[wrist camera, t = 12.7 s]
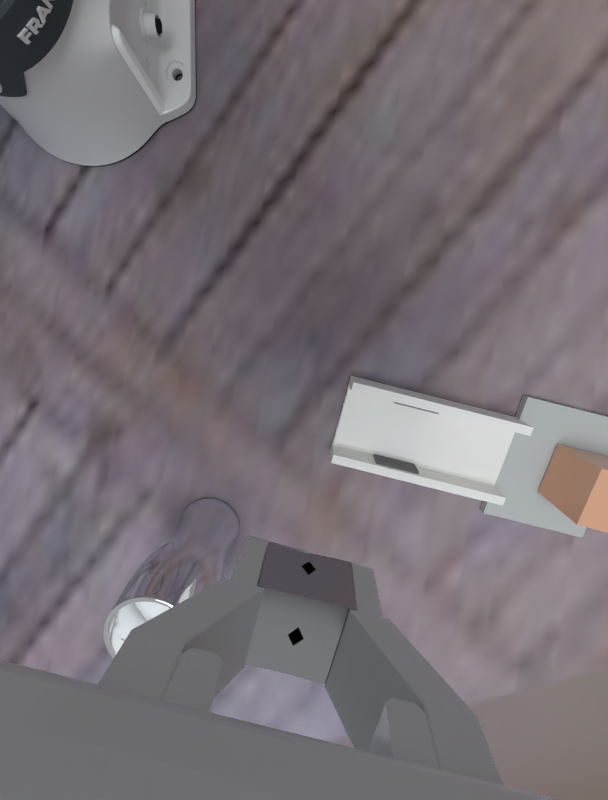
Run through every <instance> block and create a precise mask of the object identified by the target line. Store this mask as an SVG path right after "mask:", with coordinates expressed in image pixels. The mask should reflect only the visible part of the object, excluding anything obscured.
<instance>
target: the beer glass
mask: <svg viewBox="0 0 608 800" xmlns="http://www.w3.org/2000/svg"><path fill="white" fill-rule="evenodd" d="M238 533H239V520H238V517H237V515H236V513H235V512H234V510H233V509H232V508H231V507H230V506H229V505H228V504H226V503H224V502H223V501H220V500H217V499H213V498H204V499H200V500H197V501H195V502H193V503H192V504H190V505H189V506H188V507H187V509H186V510H185V512H184V513H183V516H182V518H181V521H180V525H179V527H178V529H177V530H176V531H175V532H174V533H173V534H172V535H171V536H170V537H169V538H168V539H167V540H165V541H164V542H163V543H162V544H161V545H160V546H159V547H157V548H156V549H155V550H154V551H153V552H152V553H151V554H150V555H149V556H148V557H147V558H146V559H145V560H144V562H143V563H142V564H141V565H140V567H139V568H138V569H137V570H136V572H135V573H134V575H133V576H132V578H131V579H130V581H129V582H128V584H127V585H126V587H125V588H124V590H123V592H122V593H121V595H120V597H119V599H118V600H117V602H116V604H115V606H114V607H113V609H112V611H111V612H110V613H109V615H108V616H107V618H106V620H105V623H104V628H103V637H104V642H105V645H106V648H107V650H108V652H109V654H110V655H111V657H112V658H113V659H114V657H115V656H116V654H117V652H118V651H119V649H120V648H121V646H122V644H123V643H124V641H125V639H126V638H127V636H128V635H129V633H130V631H131V630H132V629H134V628H136V627H138V626H139V625H141V624H143V623H145V622H147V621H148V620H150V619H152V618H154V617H156V616H157V615H159V614H161V613H163V612H165V611H166V610H168V609H170V608H172V607H173V606H175V605H177V604H179V603H181V602H182V601H184V600H186V599H188V598H190V597H191V596H193V595H195V594H197V593H199V592H200V591H202V590H204V589H206V588H208V587H209V586H211V585H213V584H215V583H217V582H218V581H220V580H222V579H223V571H224V562H225V556H226V553H227V551H228V549H229V548H230V547H231V546H232V544H233V543H234V542H235V540H236V538H237V536H238Z"/></svg>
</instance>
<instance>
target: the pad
mask: <svg viewBox="0 0 608 800" xmlns="http://www.w3.org/2000/svg"><path fill="white" fill-rule="evenodd" d="M515 417H516V418H518V419H519V420H521V421H523V422H525V423H527V424H528V425H530V426H532V427H534V429H533V431H532V434H531V436H528V435H524V434H520V433H516V432H515V434H514V436H513V439H512V442H511V444H510V447H509V449H508V452H507V455H506V457H505V460H504V462H503V465H502V468H501V470H500V473H499V475H498V478H497V480H496V483H495V487H496V488H497V489H498V490H499V491H500V492H501V493H502V494H503V495H504V496H505V497H506V499H505V502H504V504H503V506H502V505H498V504H494V503H490V502H486V501H483V502H482V504H481V507H480V509H481V511H482V512H483V513H486V514H490V515H494V516H498V517H502V518H506V519H510V520H514V521H518V522H522V523H526V524H530V525H534V526H538V527H542V528H545V529H549V530H553V531H557V532H561V533H565V534H569V535H573V536H577V537H581V538H582V537H583V534H584V532H585V530H586V528H587V527H584V526H580V525H576V524H575V523H574V522H573V521H572V520H571V519H569V518H568V517H567V516H566V515H565V514H563V513H562V512H561V511H560V510H559V509H558V508H556V507H555V506H554V505H553V504H552V503H550V502H549V501H548V500H547V499H546V498H545V497H543V496H542V495H541V494H540V493H539V492H538V490H539V488H540V485H541V483H542V480H543V478H544V476H545V473H546V471H547V468H548V466H549V464H550V461H551V459H552V456H553V454H554V452H555V449H556V447H557V444H561V445H565V446H569V447H573V448H577V449H581V450H585V451H589V452H593V453H597V454H601V455H605V456H608V416H605V415H601V414H597V413H593V412H589V411H585V410H581V409H577V408H573V407H569V406H565V405H561V404H557V403H553V402H549V401H546V400H542V399H538V398H534V397H530V396H526V395H523V397H522V399H521V402H520V405H519V407H518V410H517V413H516V415H515Z"/></svg>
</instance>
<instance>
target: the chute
mask: <svg viewBox="0 0 608 800" xmlns="http://www.w3.org/2000/svg"><path fill="white" fill-rule="evenodd" d="M533 429H534V427H532V426H530V425H528V424H527V423H525V422H523V421H521V420H519V419H518V418H516V417H513V416H509V415H505V414H501V413H497V412H493V411H489V410H485V409H481V408H477V407H473V406H469V405H465V404H461V403H457V402H453V401H450V400H446V399H442V398H438V397H434V396H430V395H426V394H422V393H418V392H414V391H410V390H406V389H402V388H398V387H394V386H390V385H386V384H382V383H378V382H374V381H370V380H366V379H362V378H358V377H354V376H351V377H350V381H349V384H348V388H347V392H346V395H345V399H344V402H343V406H342V410H341V413H340V417H339V421H338V424H337V428H336V431H335V435H334V439H333V442H332V446H331V449H330V450H331V463H334V464H338V465H342V466H346V467H350V468H354V469H358V470H362V471H366V472H370V473H374V474H378V475H382V476H386V477H390V478H394V479H398V480H402V481H406V482H410V483H414V484H418V485H422V486H426V487H430V488H434V489H438V490H442V491H446V492H450V493H454V494H458V495H462V496H466V497H470V498H474V499H478V500H482V501H486V502H490V503H494V504H498V505H502V506H503V504H504V502H505V499H506V497H505V496H504V495H503V494H502V493H501V492H500V491H499V490H498V489H497V488H496V487H495V483H496V480H497V478H498V475H499V473H500V470H501V468H502V465H503V462H504V460H505V457H506V455H507V452H508V449H509V447H510V444H511V442H512V439H513V436H514V434H515V432H516V433H520V434H524V435H528V436H531V434H532V431H533Z"/></svg>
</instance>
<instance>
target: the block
mask: <svg viewBox="0 0 608 800" xmlns="http://www.w3.org/2000/svg"><path fill="white" fill-rule="evenodd" d="M538 492H539V493H540V494H541V495H542V496H543V497H545V498H546V499H547V500H548V501H549V502H550V503H552V504H553V505H554V506H555V507H556V508H558V509H559V510H560V511H561V512H562V513H563V514H565V515H566V516H567V517H568V518H569V519H571V520H572V521H573V522H574V523H575V524H576V525H580V526H584V527H588V528H592V529H596V530H600V531H604V532H608V456H605V455H601V454H597V453H593V452H589V451H585V450H581V449H577V448H573V447H569V446H565V445H561V444H557V447H556V449H555V452H554V454H553V456H552V459H551V461H550V464H549V466H548V468H547V471H546V473H545V476H544V478H543V480H542V483H541V485H540V488H539V490H538Z"/></svg>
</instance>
